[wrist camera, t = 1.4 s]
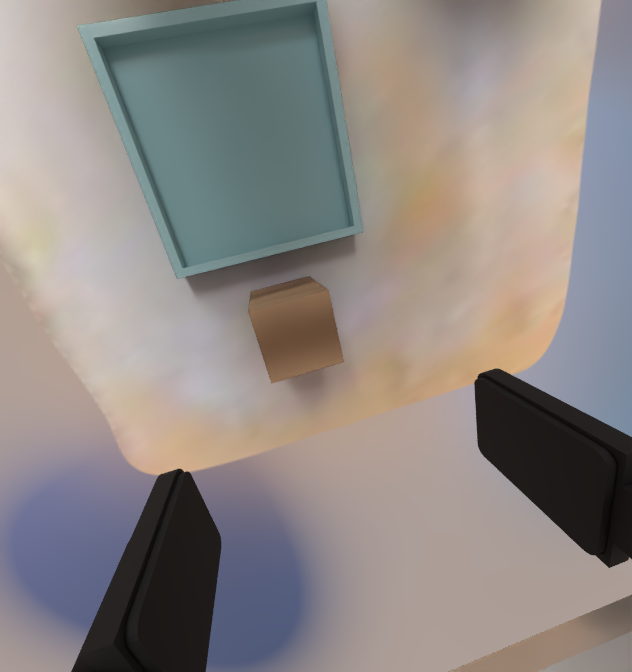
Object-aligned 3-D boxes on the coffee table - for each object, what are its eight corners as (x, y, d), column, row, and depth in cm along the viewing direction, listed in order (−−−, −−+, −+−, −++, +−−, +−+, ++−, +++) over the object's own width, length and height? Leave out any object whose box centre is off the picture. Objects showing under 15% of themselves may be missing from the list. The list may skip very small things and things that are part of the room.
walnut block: (250, 291, 24) (248, 311, 17) (309, 276, 24) (328, 290, 18) (267, 346, 26) (271, 383, 19) (322, 330, 26) (343, 361, 20)
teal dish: (95, 47, 18) (76, 25, 16) (317, 10, 19) (323, -14, 17) (183, 275, 23) (177, 278, 21) (355, 232, 24) (363, 232, 22)
